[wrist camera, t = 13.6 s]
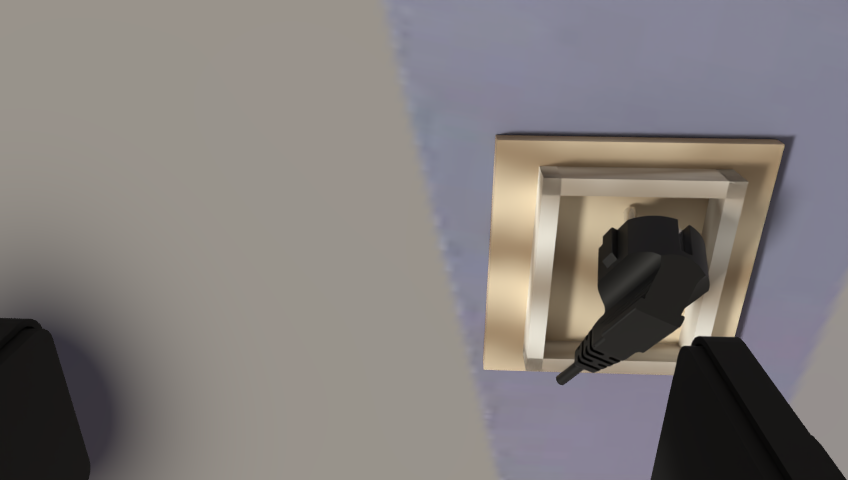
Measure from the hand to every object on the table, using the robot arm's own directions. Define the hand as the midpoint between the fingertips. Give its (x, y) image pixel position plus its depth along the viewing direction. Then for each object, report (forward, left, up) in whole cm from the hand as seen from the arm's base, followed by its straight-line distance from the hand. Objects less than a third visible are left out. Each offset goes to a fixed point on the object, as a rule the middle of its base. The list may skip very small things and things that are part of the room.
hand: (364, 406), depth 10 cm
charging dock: (+12, +12, -28) cm, 33 cm away
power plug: (+13, +11, -26) cm, 32 cm away
